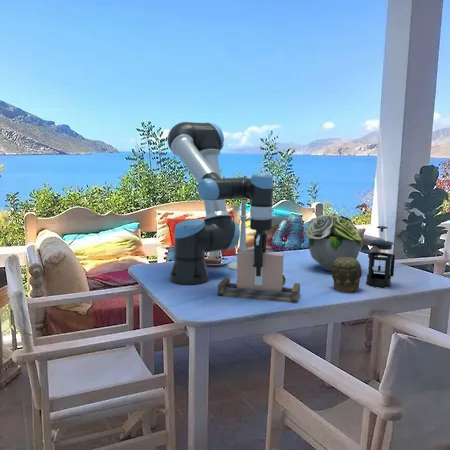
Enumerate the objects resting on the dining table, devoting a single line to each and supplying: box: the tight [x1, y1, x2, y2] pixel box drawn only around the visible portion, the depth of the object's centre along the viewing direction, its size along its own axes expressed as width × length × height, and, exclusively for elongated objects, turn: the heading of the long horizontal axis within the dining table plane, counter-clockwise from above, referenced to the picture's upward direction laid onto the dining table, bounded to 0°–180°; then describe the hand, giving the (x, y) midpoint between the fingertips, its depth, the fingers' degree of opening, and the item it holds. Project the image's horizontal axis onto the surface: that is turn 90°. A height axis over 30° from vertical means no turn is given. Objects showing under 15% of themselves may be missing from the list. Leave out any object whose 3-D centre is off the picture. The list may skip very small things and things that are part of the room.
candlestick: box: [227, 200, 248, 272], centre depth 209 cm, size 13×13×30 cm
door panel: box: [236, 250, 284, 292], centre depth 170 cm, size 16×3×13 cm, turn 76°
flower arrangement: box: [305, 213, 363, 272], centre depth 208 cm, size 25×25×24 cm
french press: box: [365, 225, 396, 289], centre depth 186 cm, size 12×9×23 cm
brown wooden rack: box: [217, 277, 301, 304], centre depth 171 cm, size 28×10×4 cm, turn 76°
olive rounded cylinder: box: [330, 257, 362, 293], centre depth 180 cm, size 11×11×12 cm
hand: (259, 283), depth 171 cm, fingers closed on door panel, 3 cm apart
